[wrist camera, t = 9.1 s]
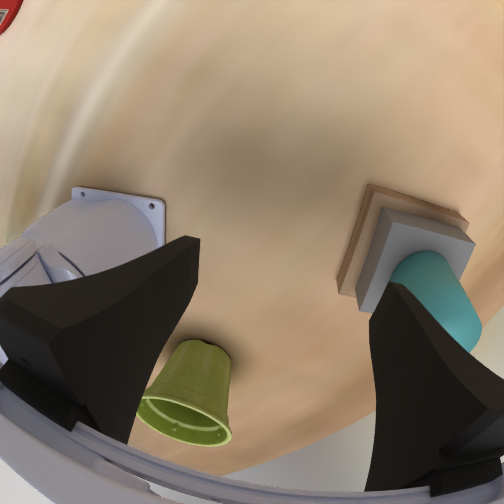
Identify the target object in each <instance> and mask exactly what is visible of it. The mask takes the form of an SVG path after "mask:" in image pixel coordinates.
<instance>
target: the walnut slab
mask: <svg viewBox="0 0 504 504" xmlns="http://www.w3.org/2000/svg"><path fill="white" fill-rule="evenodd" d="M382 207H386V208H390V209H394V210H398V211H401V212H405V213H409V214H413V215H417V216H420V217H424V218H428V219H431V220H435V221H438V222H442V223H445V224H449V225H452V226H455V227H459V228H461V229H462V230H463V231H464V233H465V232H466V230H467V227H468V225H469V222H468V221H467V220H466V219H465V218H463V217H462V216H461V215H460V214H459V213H457V212H454V211H451V210H449V209H446V208H443V207H440V206H437V205H434V204H432V203H429V202H426V201H423V200H420V199H417V198H414V197H411V196H407V195H404V194H401V193H398V192H395V191H391V190H388V189H385V188H381V187H378V186H374V185H371V184H368V186H367V190H366V193H365V196H364V200H363V203H362V206H361V210H360V213H359V216H358V219H357V223H356V226H355V229H354V232H353V235H352V238H351V241H350V244H349V247H348V250H347V253H346V256H345V258H344V261H343V264H342V267H341V270H340V272H339V275H338V278H337V286H338V293H339V294H341V295H346V296H351V297H356V292H355V287H356V285H357V282H358V279H359V277H360V274H361V271H362V268H363V266H364V263H365V260H366V257H367V254H368V251H369V248H370V245H371V242H372V239H373V236H374V233H375V230H376V226H377V223H378V220H379V217H380V213H381V210H382ZM356 298H357V297H356Z"/></svg>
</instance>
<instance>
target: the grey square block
mask: <svg viewBox="0 0 504 504" xmlns="http://www.w3.org/2000/svg"><path fill="white" fill-rule="evenodd" d="M475 245H476V244H475V243H474V242H473V241H472V240H471V239H470V238H469V237H468V236H467V235H466V234H465V233H464V231H463V230H462V229H461V228H459V227H455V226H452V225H449V224H445V223H442V222H438V221H435V220H431V219H428V218H424V217H420V216H417V215H413V214H409V213H405V212H401V211H398V210H394V209H390V208H386V207H382V210H381V213H380V217H379V220H378V223H377V226H376V230H375V233H374V236H373V239H372V242H371V245H370V248H369V251H368V254H367V257H366V260H365V263H364V266H363V268H362V271H361V274H360V277H359V279H358V282H357V285H356V287H355V292H356V297H357V302H358V307H359V311H362V312H369V313H373V312H374V310H375V308H376V306H377V304H378V302H379V300H380V298H381V296H382V294H383V292H384V290H385V288H386V286H387V284H388V281H390V278H391V275H392V273H393V271H394V270H395V268H396V267H397V266H398V265H399V264H400V263H401V262H402V261H403V260H404V259H405V258H407V257H409V256H410V255H412V254H415V253H418V252H422V251H432V252H436V253H438V254H440V255H442V256H443V257H444V258H445V259H446V260H447V262H448V264H449V265H450V267H451V268H452V270H453V272H454V273H455V275H456V277H457V279H458V280H460V278H461V276H462V274H463V272H464V269H465V267H466V265H467V263H468V261H469V258H470V256H471V254H472V252H473V249H474V247H475Z"/></svg>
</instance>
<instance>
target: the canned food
mask: <svg viewBox="0 0 504 504" xmlns="http://www.w3.org/2000/svg"><path fill="white" fill-rule="evenodd" d="M22 1H23V0H0V34H1V33H3V32H4V31H5V30H6V29H7V28H8V26H9V25H10V24H11V22H12V21H13V19H14V18H15V16H16V14H17V12H18V10H19V8H20V6H21V4H22Z"/></svg>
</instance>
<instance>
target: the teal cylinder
mask: <svg viewBox="0 0 504 504" xmlns="http://www.w3.org/2000/svg"><path fill="white" fill-rule="evenodd" d="M390 281H391V282H396V283H400V284H403V285H404V286H405V287H406V288H407V289H408V290H409V291H411V293H412V294H413V295H414V296H415V297H416V298H417V299H418V300H419V301H420V302H421V303H422V304H423V306H424V307H425V308H426V309H427V310H428V311H429V312H430V313H431V315H432V316H433V317H434V318H435V319H436V320H437V321H438V322H439V323H440V325H441V326H442V327H443V328H444V329H445V330H446V331H447V332H448V333H449V334H450V335H451V336H452V337H453V338H454V339H455V340H456V341H457V342H458V343H459V344H460V345H461V346H462V347H463V348H464V349H465V350H466V351H467V352H470V351H471V350H472V349H473V348H474V347H475V345H476V344H477V342H478V340H479V338H480V336H481V331H482V325H481V322H480V319H479V317H478V315H477V313H476V311H475V310H474V308H473V306H472V304H471V302H470V300H469V298H468V296H467V294H466V293H465V291H464V289H463V287H462V286H461V284H460V282H459V280H458V279H457V277H456V275H455V273H454V272H453V270H452V268H451V267H450V265H449V264H448V262H447V260H446V259H445V258H444V257H443V256H442V255H440V254H438V253H436V252H432V251H422V252H418V253H415V254H412V255H410V256H409V257H407V258H405V259H404V260H403V261H402V262H401V263H400V264H399V265H398V266H397V267H396V268H395V270H394V271H393V273H392V275H391V278H390Z"/></svg>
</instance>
